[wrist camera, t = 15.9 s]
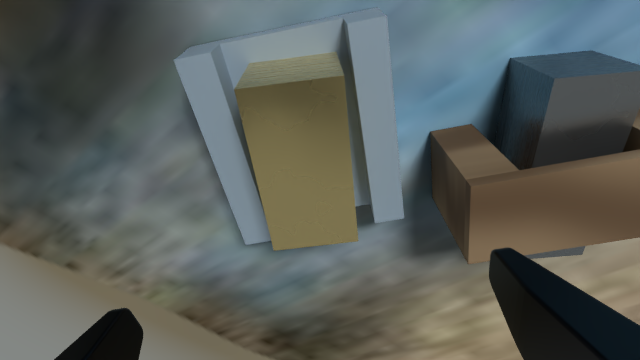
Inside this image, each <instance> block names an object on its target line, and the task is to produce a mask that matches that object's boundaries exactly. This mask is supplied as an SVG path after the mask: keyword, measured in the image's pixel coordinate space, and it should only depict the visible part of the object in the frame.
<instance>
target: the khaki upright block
mask: <svg viewBox="0 0 640 360" xmlns="http://www.w3.org/2000/svg"><path fill="white" fill-rule="evenodd" d="M234 92H235V96H236V100H237V104H238V108H239V112H240V116H241V120H242V124H243V128H244V132H245V136H246V140H247V144H248V148H249V152H250V156H251V160H252V164H253V168H254V172H255V176H256V180H257V185H258V189H259V193H260V197H261V201H262V205H263V209H264V213H265V217H266V221H267V225H268V229H269V233H270V237H271V241H272V245H273V249H274V251H276V250H284V249H293V248H302V247H311V246H320V245H329V244H338V243H346V242H355V241H358V232H357V220H356V208H355V197H354V185H353V173H352V161H351V149H350V137H349V125H348V114H347V102H346V90H345V78H344V73H343V70H342V67H341V64H340V61H339V58H338V55H337V52H331V53H324V54H316V55H308V56H301V57H293V58H286V59H278V60H270V61H263V62H255V63H249V64H248V66H247V68H246V70H245V71H244V73H243V75H242V76H241V78H240V80H239V82H238V83H237V85H236V87H235V89H234Z"/></svg>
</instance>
